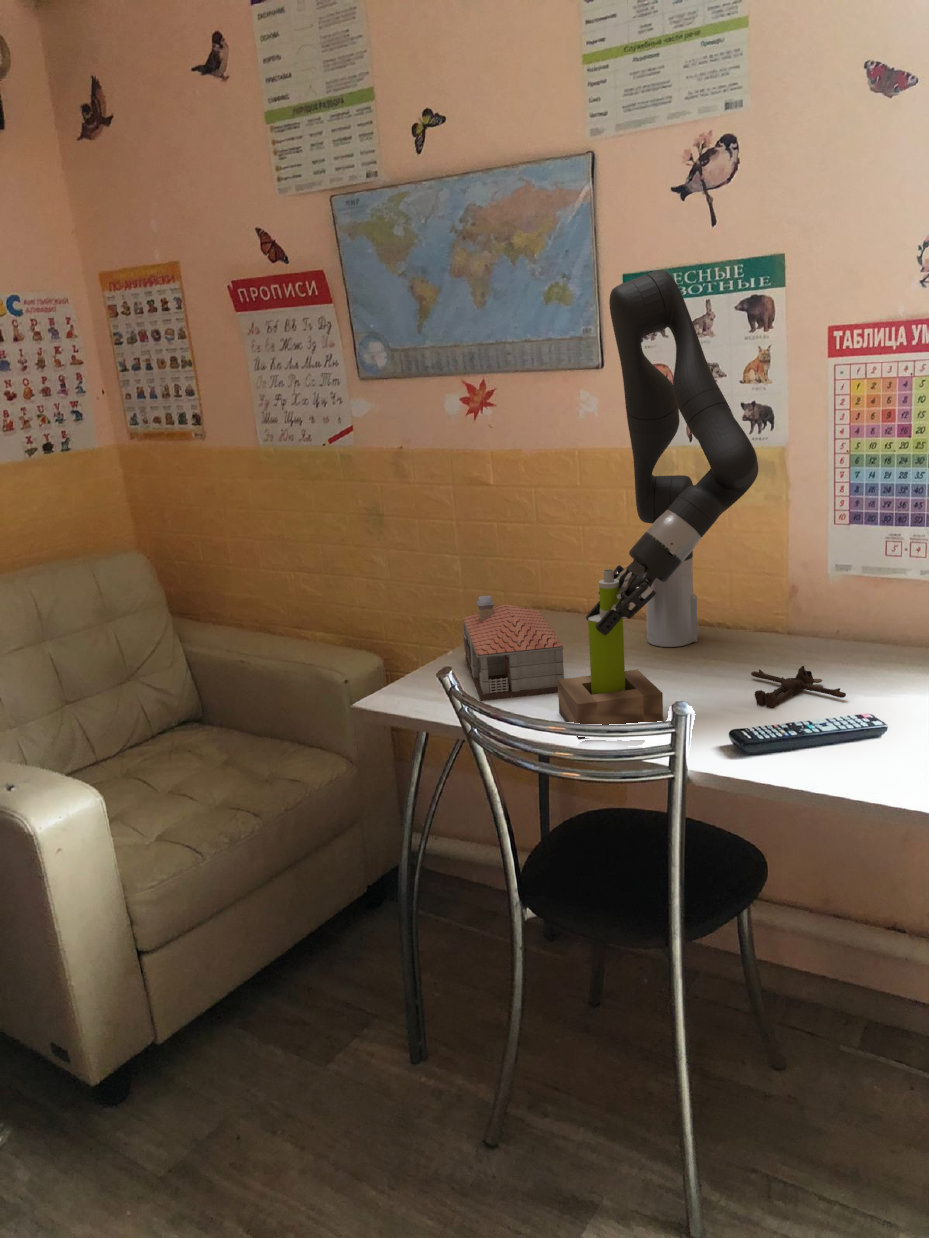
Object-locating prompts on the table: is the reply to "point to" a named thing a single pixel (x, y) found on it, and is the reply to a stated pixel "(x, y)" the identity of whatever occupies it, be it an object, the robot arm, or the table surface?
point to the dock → (610, 701)
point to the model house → (511, 652)
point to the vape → (606, 643)
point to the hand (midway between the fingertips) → (595, 626)
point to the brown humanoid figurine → (790, 687)
